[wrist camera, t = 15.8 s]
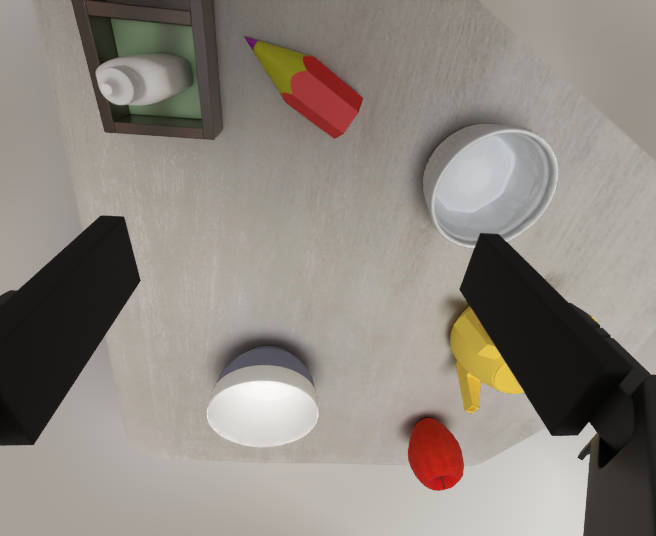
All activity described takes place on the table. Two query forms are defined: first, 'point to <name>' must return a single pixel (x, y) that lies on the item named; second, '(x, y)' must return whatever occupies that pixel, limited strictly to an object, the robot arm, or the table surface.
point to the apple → (435, 455)
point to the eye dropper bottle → (143, 78)
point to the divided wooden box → (156, 37)
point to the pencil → (309, 87)
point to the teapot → (478, 361)
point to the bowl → (263, 399)
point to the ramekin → (489, 182)
